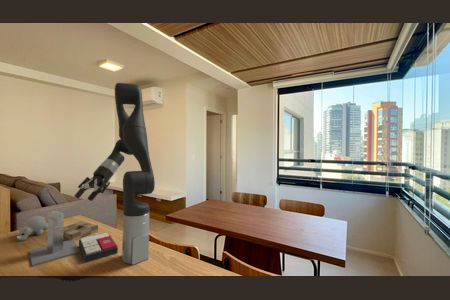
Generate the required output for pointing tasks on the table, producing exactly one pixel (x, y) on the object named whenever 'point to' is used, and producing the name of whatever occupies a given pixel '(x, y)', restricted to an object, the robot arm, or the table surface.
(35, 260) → the mat
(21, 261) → the table surface
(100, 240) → the calculator
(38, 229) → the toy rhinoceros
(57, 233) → the t key
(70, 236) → the block
